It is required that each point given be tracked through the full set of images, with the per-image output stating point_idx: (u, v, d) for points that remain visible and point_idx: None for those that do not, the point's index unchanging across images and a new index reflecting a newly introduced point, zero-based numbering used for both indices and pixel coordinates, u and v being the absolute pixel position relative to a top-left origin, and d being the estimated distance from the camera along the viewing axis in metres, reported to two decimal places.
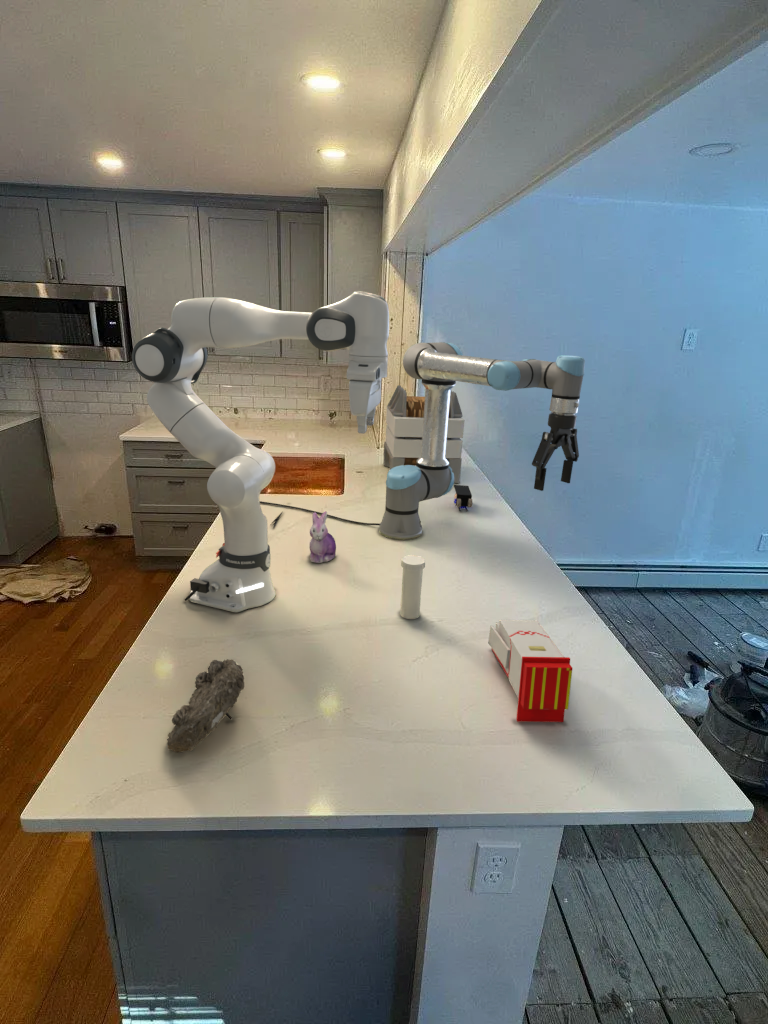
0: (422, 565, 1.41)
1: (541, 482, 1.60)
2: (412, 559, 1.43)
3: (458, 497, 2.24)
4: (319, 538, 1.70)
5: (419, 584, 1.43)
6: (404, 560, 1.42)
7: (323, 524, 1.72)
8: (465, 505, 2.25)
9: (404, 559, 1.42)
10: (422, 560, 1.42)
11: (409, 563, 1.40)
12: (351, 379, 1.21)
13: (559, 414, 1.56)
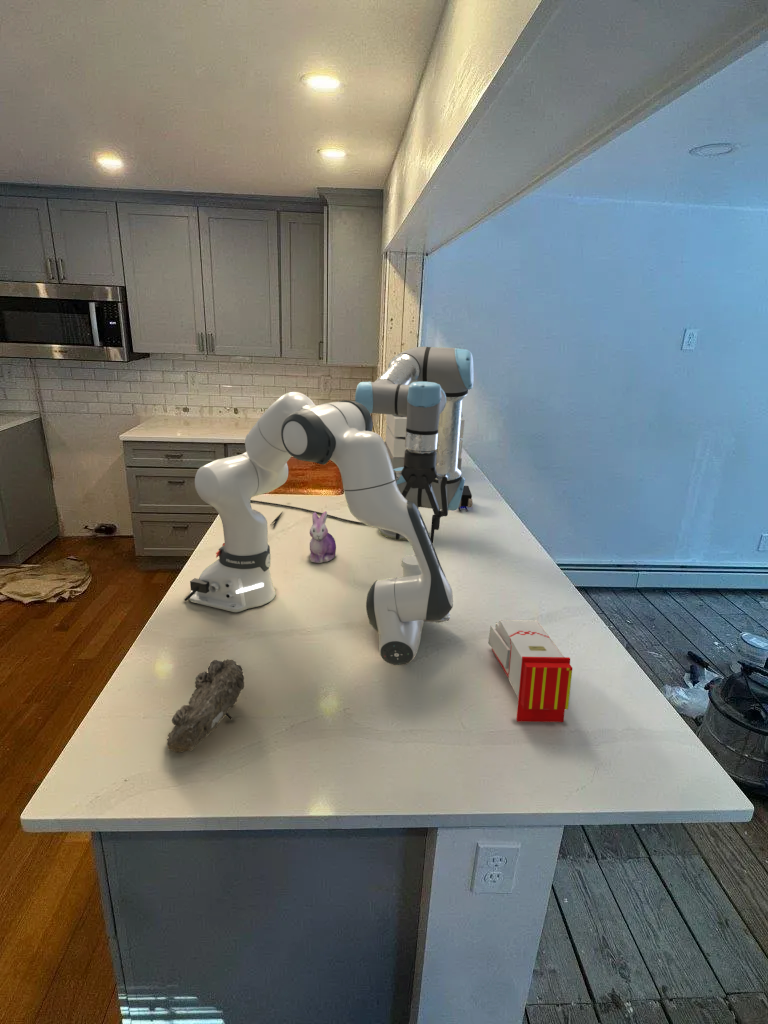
0: None
1: None
2: (412, 559, 1.43)
3: None
4: (319, 538, 1.70)
5: None
6: (404, 560, 1.42)
7: (323, 524, 1.72)
8: (465, 505, 2.25)
9: (404, 559, 1.42)
10: None
11: (409, 563, 1.40)
12: None
13: None
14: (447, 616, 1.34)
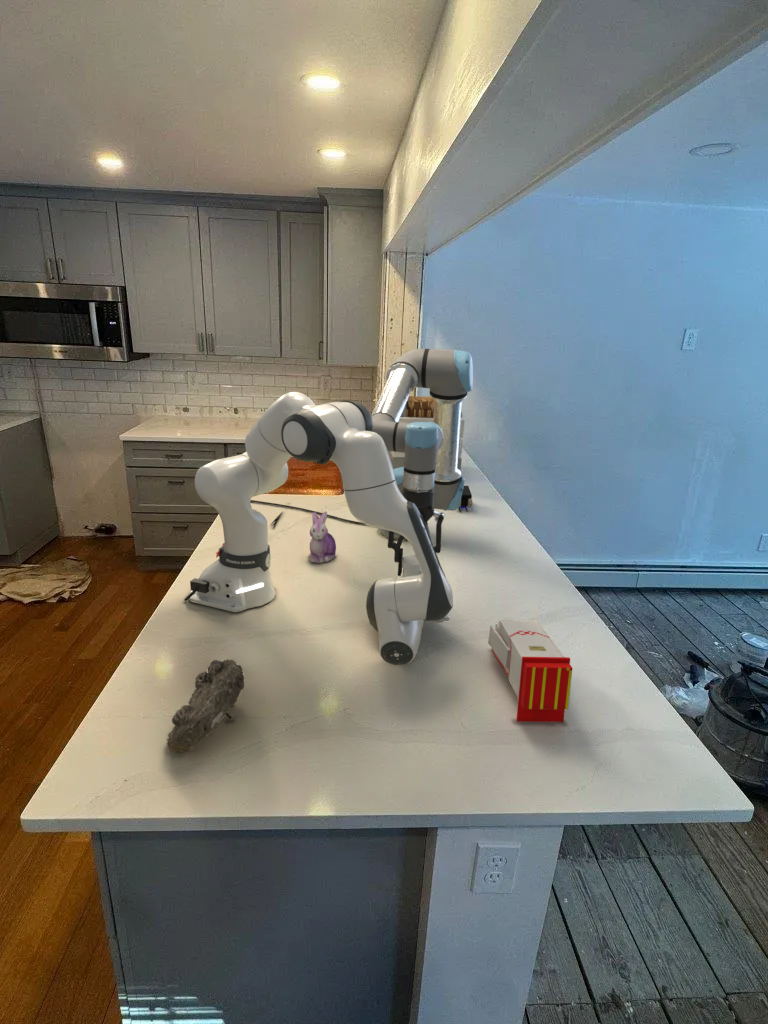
0: None
1: None
2: (412, 559, 1.43)
3: None
4: (319, 538, 1.70)
5: None
6: (404, 560, 1.42)
7: (323, 524, 1.72)
8: (465, 505, 2.25)
9: (404, 559, 1.42)
10: None
11: (409, 563, 1.40)
12: None
13: None
14: (447, 616, 1.34)
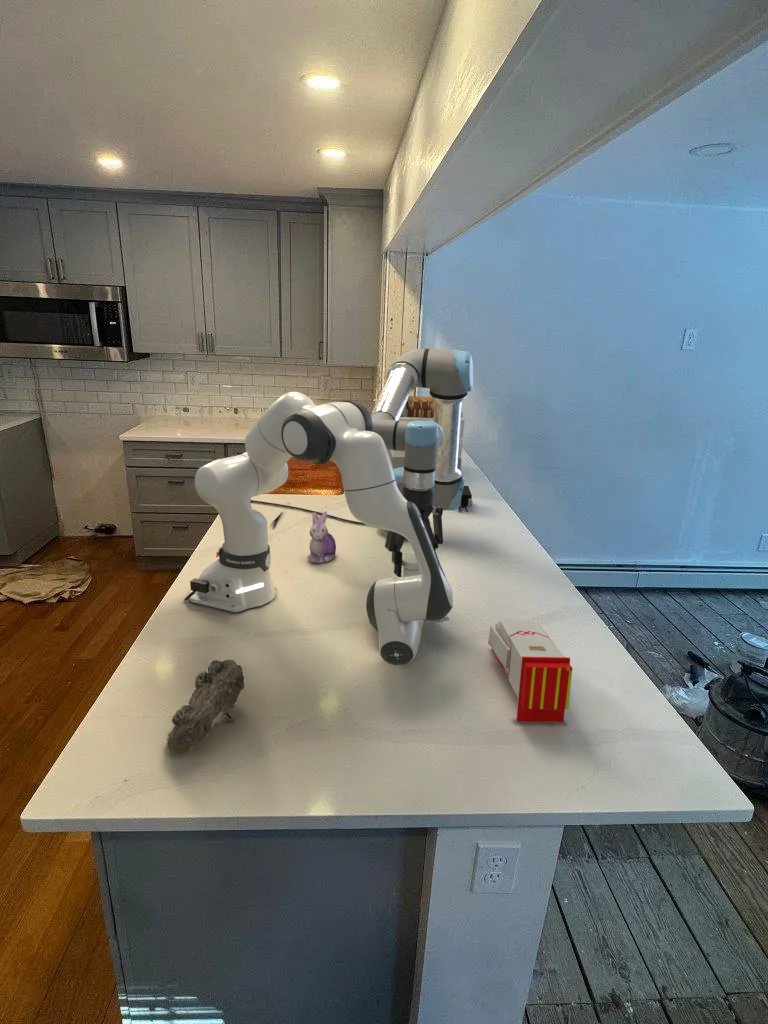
0: None
1: None
2: (413, 558, 1.42)
3: None
4: (319, 538, 1.70)
5: None
6: None
7: (323, 524, 1.72)
8: (465, 505, 2.25)
9: None
10: (409, 554, 1.44)
11: None
12: None
13: None
14: (447, 616, 1.34)
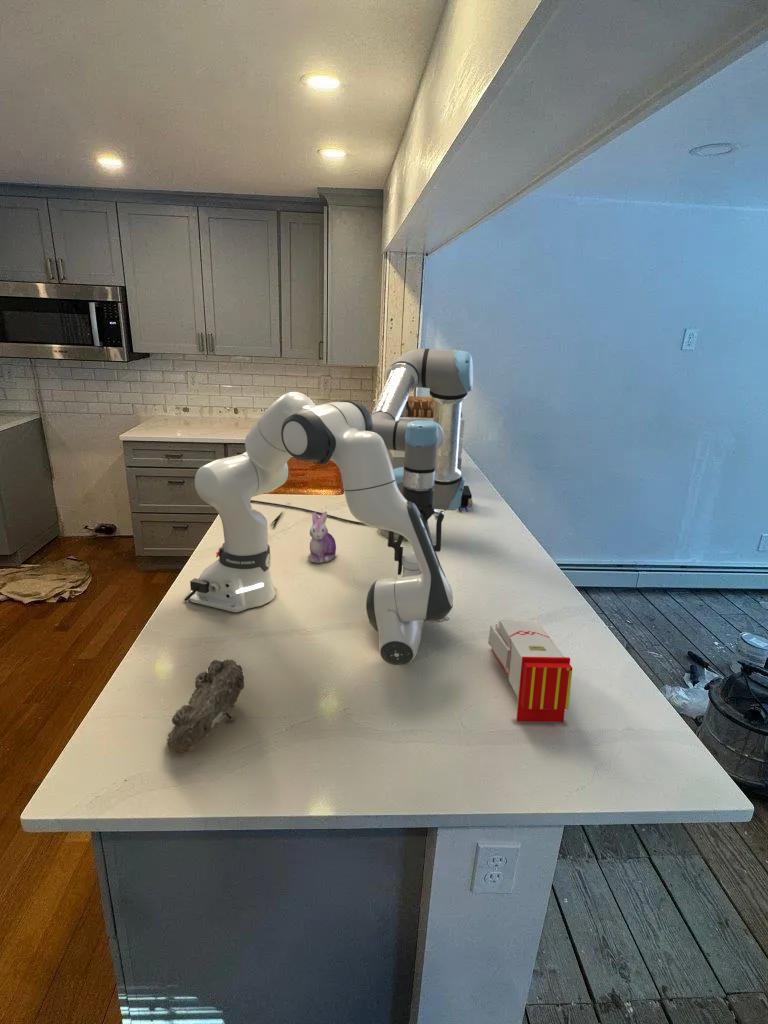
0: None
1: None
2: (413, 558, 1.42)
3: None
4: (319, 538, 1.70)
5: None
6: None
7: (323, 524, 1.72)
8: (465, 505, 2.25)
9: None
10: (409, 554, 1.44)
11: None
12: None
13: None
14: (447, 616, 1.34)
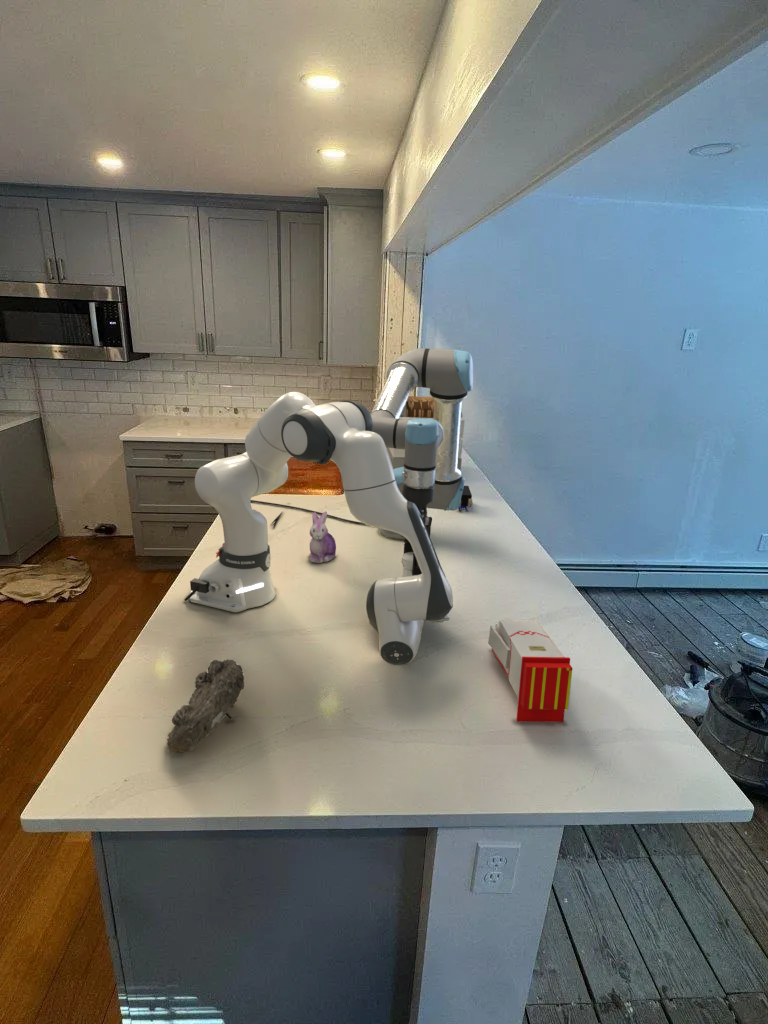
0: (402, 559, 1.42)
1: None
2: None
3: None
4: (319, 538, 1.70)
5: None
6: None
7: (323, 524, 1.72)
8: (465, 505, 2.25)
9: None
10: (408, 559, 1.41)
11: (408, 553, 1.44)
12: None
13: None
14: (447, 616, 1.34)
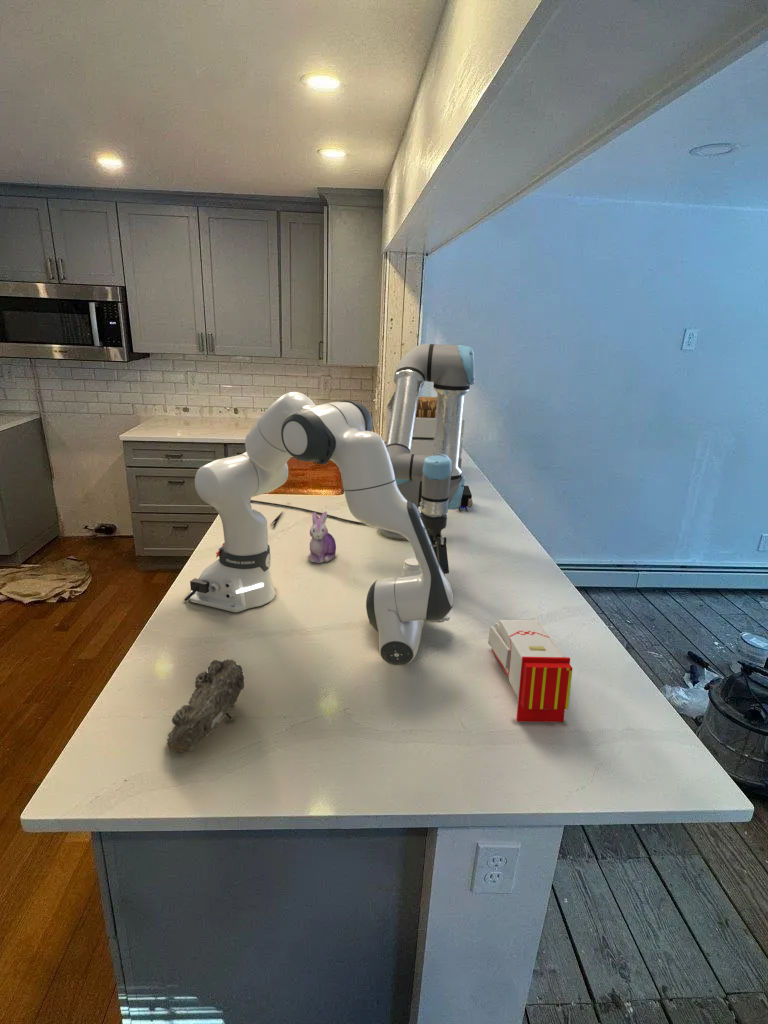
0: None
1: None
2: None
3: None
4: (319, 538, 1.70)
5: None
6: None
7: (323, 524, 1.72)
8: (465, 505, 2.25)
9: None
10: None
11: None
12: None
13: None
14: (447, 616, 1.34)
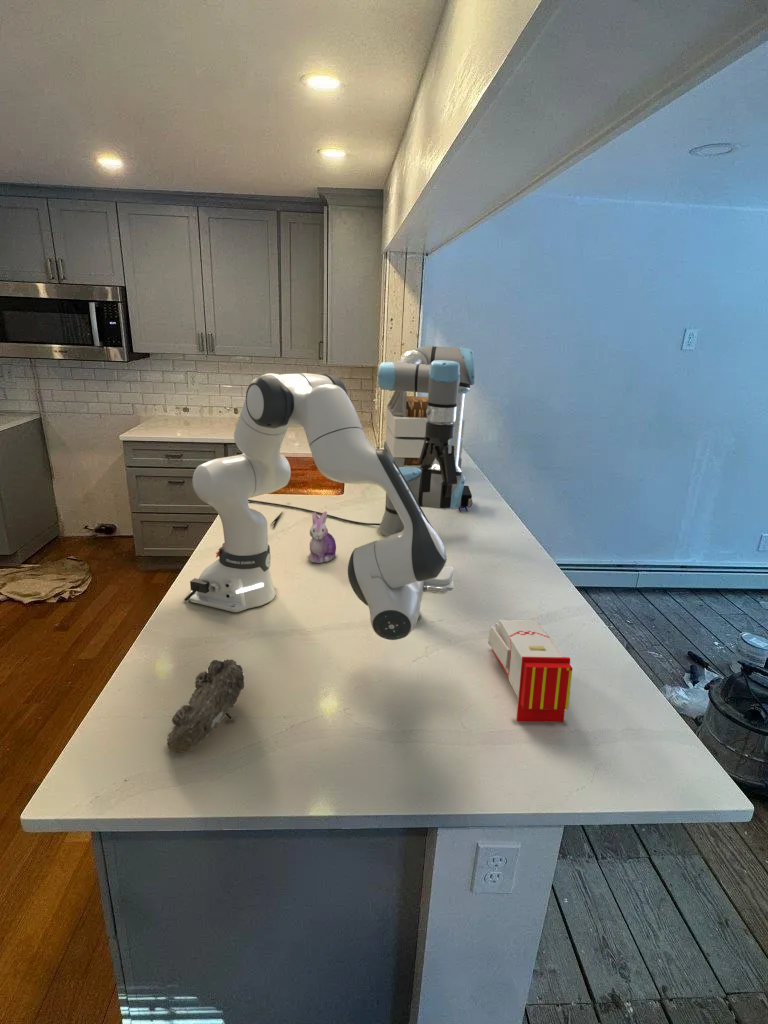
0: None
1: None
2: None
3: None
4: (319, 538, 1.70)
5: None
6: None
7: (323, 524, 1.72)
8: (465, 505, 2.25)
9: None
10: None
11: None
12: None
13: None
14: (450, 586, 1.17)
